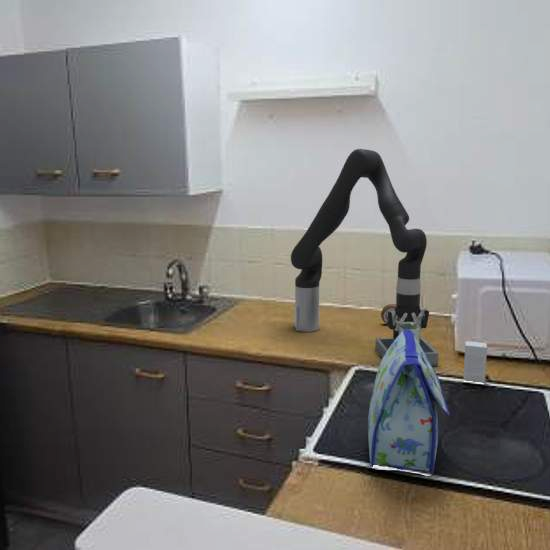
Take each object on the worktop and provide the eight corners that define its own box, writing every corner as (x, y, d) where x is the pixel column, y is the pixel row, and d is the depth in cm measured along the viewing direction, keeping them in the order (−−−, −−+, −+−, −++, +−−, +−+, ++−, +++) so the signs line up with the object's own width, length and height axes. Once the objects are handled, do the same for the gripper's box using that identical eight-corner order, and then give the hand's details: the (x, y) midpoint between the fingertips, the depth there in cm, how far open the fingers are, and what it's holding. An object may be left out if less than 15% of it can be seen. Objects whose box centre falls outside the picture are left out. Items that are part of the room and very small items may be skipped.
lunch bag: (447, 480, 116) (455, 363, 110) (367, 474, 118) (370, 359, 113) (435, 429, 137) (441, 328, 131) (367, 424, 140) (370, 325, 134)
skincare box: (484, 380, 165) (487, 342, 163) (484, 386, 161) (487, 347, 159) (462, 378, 167) (465, 340, 165) (462, 383, 163) (465, 345, 161)
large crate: (388, 368, 175) (388, 355, 174) (375, 350, 191) (375, 338, 190) (437, 366, 176) (438, 353, 175) (420, 349, 192) (421, 336, 191)
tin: (419, 324, 219) (420, 304, 217) (420, 327, 216) (421, 306, 214) (380, 323, 221) (381, 303, 219) (381, 326, 218) (382, 305, 216)
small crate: (400, 348, 178) (401, 330, 177) (393, 340, 186) (394, 322, 185) (419, 347, 179) (420, 329, 178) (411, 339, 187) (412, 322, 185)
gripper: (389, 294, 174) (388, 345, 178) (434, 293, 176) (431, 343, 179) (383, 289, 182) (381, 337, 185) (426, 287, 183) (423, 336, 186)
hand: (406, 340), depth 182 cm, fingers closed on small crate, 6 cm apart
